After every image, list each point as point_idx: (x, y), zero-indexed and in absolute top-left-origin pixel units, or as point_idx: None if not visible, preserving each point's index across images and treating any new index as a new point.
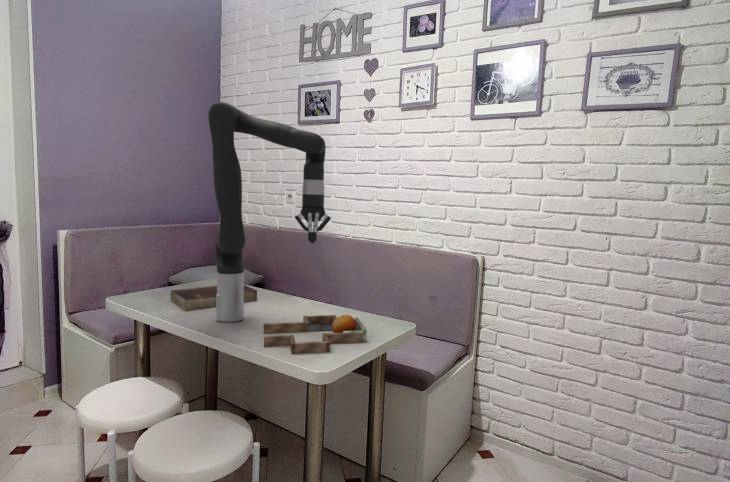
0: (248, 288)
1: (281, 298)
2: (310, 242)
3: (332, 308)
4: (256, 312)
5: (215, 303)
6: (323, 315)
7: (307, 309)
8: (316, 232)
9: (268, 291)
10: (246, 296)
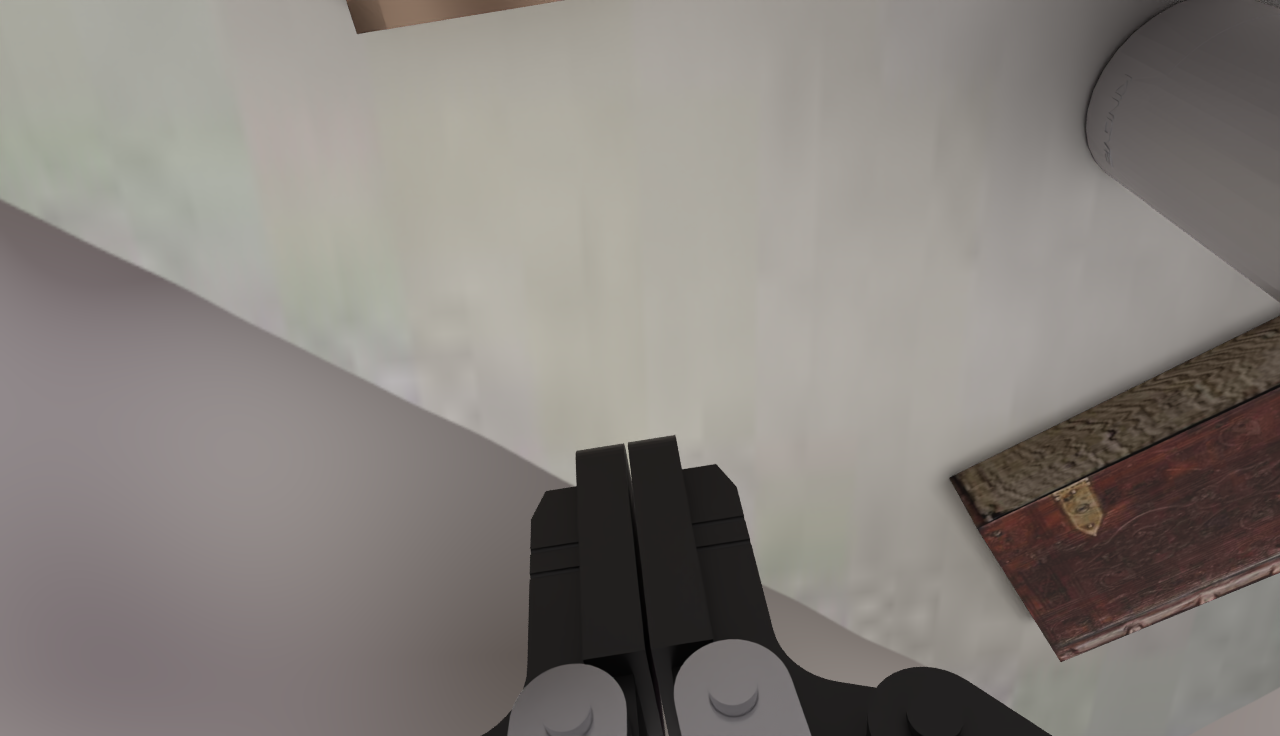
0: (1024, 561)
1: (794, 532)
2: (673, 436)
3: (442, 374)
4: (977, 249)
5: (1237, 357)
6: (462, 11)
7: (620, 339)
8: (531, 691)
9: (866, 635)
10: (1034, 471)
